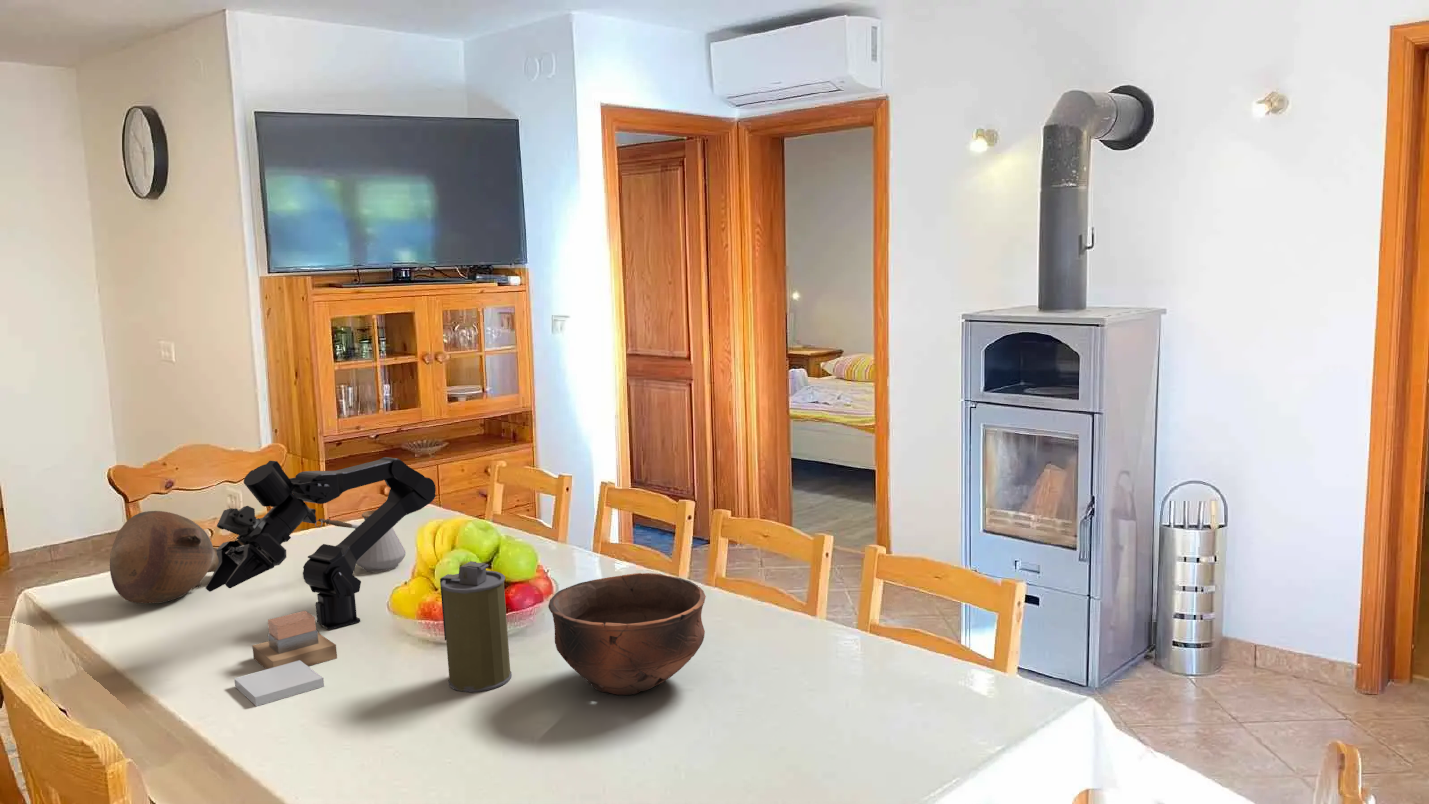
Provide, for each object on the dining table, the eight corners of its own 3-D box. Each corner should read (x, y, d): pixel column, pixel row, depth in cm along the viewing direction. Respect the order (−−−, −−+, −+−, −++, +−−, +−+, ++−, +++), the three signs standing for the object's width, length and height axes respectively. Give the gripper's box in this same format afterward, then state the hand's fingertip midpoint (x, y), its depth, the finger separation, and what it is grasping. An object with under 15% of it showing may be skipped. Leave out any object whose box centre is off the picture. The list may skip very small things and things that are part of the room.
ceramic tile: (300, 668, 188) (299, 660, 188) (324, 686, 180) (323, 677, 179) (235, 686, 181) (234, 678, 181) (256, 706, 173) (255, 697, 172)
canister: (523, 670, 183) (515, 557, 180) (491, 695, 173) (482, 575, 170) (467, 664, 187) (459, 553, 184) (433, 688, 177) (424, 571, 174)
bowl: (587, 731, 159) (581, 633, 157) (534, 675, 181) (528, 588, 179) (734, 693, 170) (731, 601, 168) (668, 645, 192) (664, 563, 190)
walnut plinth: (314, 642, 200) (313, 629, 200) (337, 658, 192) (335, 644, 192) (253, 658, 193) (252, 645, 193) (274, 675, 185) (273, 661, 185)
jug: (127, 623, 215) (260, 604, 241) (143, 530, 213) (276, 520, 238) (76, 589, 226) (209, 574, 251) (91, 500, 224) (224, 493, 249)
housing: (308, 636, 197) (305, 610, 196) (318, 643, 193) (316, 616, 192) (269, 646, 192) (266, 619, 191) (278, 654, 188) (276, 626, 188)
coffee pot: (384, 557, 256) (379, 495, 253) (417, 563, 249) (412, 500, 247) (306, 582, 238) (300, 516, 236) (339, 590, 232) (333, 522, 230)
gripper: (227, 499, 202) (164, 561, 192) (267, 487, 189) (202, 552, 180) (269, 540, 206) (210, 603, 197) (312, 530, 193) (251, 596, 184)
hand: (217, 588), depth 189 cm, fingers open, 9 cm apart
